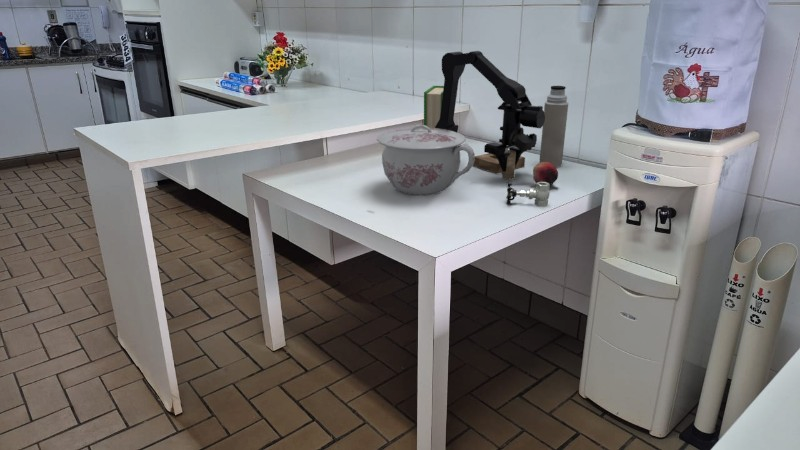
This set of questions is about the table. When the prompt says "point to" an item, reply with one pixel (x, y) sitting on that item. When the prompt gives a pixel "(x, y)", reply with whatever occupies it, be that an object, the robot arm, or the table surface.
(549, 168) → the fruit
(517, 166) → the socket block
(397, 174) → the chamber pot
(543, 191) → the valve
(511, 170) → the peg
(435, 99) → the hardback book
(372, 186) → the table surface
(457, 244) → the table surface
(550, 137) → the thermos bottle
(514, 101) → the robot arm
